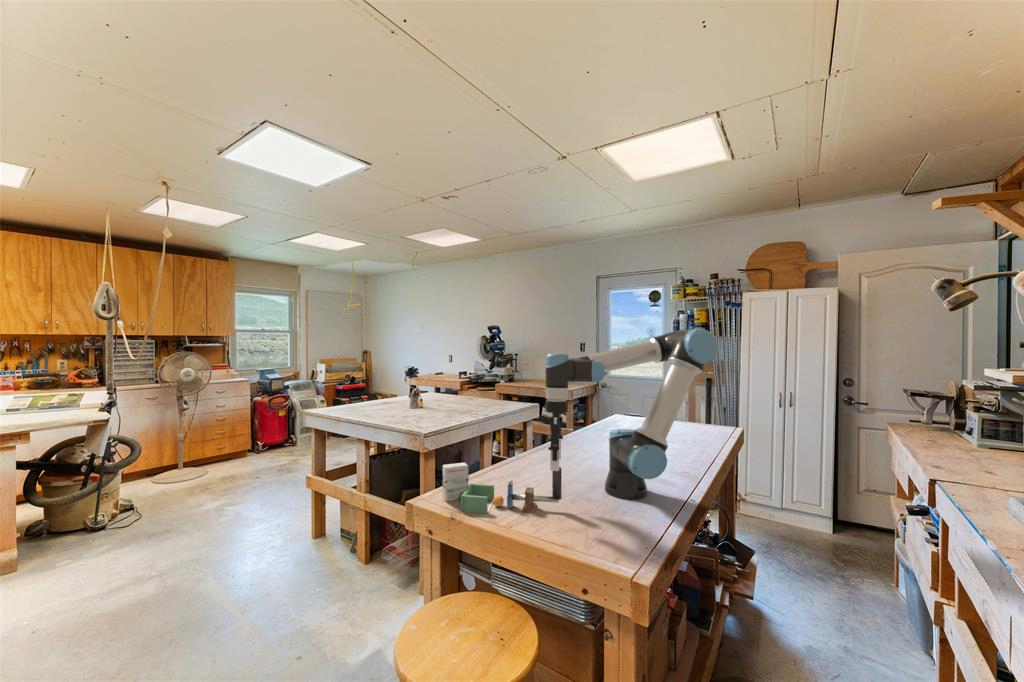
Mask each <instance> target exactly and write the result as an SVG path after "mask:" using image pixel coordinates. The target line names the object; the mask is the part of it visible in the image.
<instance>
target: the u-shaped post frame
mask: <svg viewBox="0 0 1024 682" xmlns="http://www.w3.org/2000/svg"><path fill="white" fill-rule="evenodd" d="M551 480H552V484H551V485H552V489H551V491H552V493H551V495H536V494H534V495H532V499H533V501H534V502H538V503H539V502H540V503H541V502H543V503H555V504H556V503H557V504H559V501H560V500H562V499H563V497H562V467H561V466H559V471H552V479H551ZM513 487H514V483H513V480H512V479H508V480H507V496H506V508H507V509H513V507H514V501H524V502H525V494H520V493H519V494H518V493H514V488H513Z"/></svg>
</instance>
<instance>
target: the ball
mask: <svg viewBox="0 0 1024 682" xmlns="http://www.w3.org/2000/svg"><path fill="white" fill-rule="evenodd" d="M504 501H505V500H504V498H503V496H501V495H496V496H495V495H494V499H493V506H495V507H497V508H498V507H501V506H503V504H504Z"/></svg>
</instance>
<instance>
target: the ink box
mask: <svg viewBox="0 0 1024 682" xmlns="http://www.w3.org/2000/svg"><path fill="white" fill-rule="evenodd" d="M468 487H469V465H468V464H467V463H466V462H457V463H448V464H447V463H446V464H443V465H442V499H443V500H444V501H445V503H447V502H451V501H452V502H453V501H457V500H461V496H462V494H463V493H464V492H465V490H466V489H467V488H468Z"/></svg>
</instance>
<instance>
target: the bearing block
mask: <svg viewBox="0 0 1024 682" xmlns="http://www.w3.org/2000/svg"><path fill="white" fill-rule="evenodd" d="M534 490H535V489H534V487H528V486H527V487H526V488H525V491H524V495H525V501H524V503H523V506H522V510H521V512H522V513H525V514H526V513H527V514H535V512H536V508H537V502H535V501H533V499H532V495H535V494H534V493H535V492H534Z"/></svg>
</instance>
